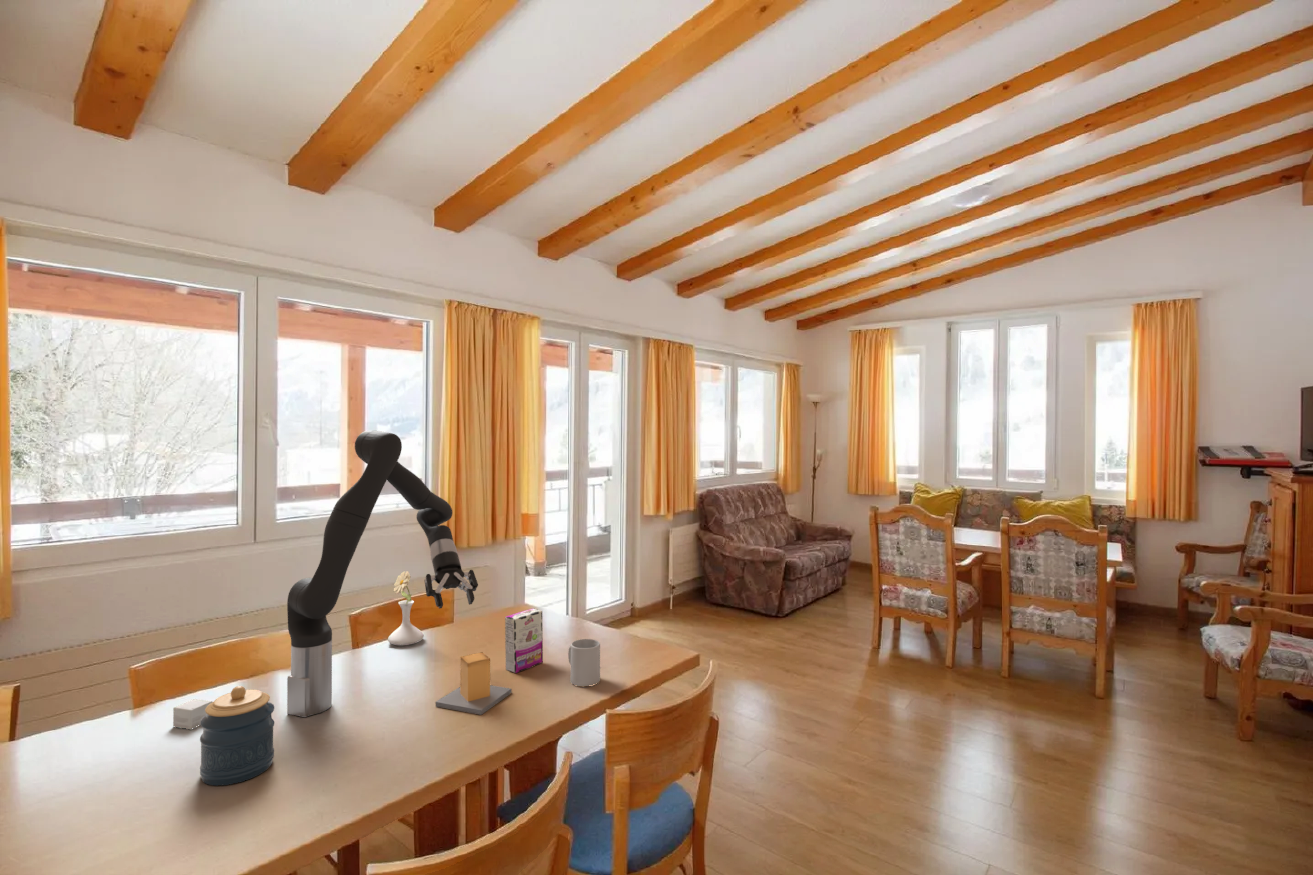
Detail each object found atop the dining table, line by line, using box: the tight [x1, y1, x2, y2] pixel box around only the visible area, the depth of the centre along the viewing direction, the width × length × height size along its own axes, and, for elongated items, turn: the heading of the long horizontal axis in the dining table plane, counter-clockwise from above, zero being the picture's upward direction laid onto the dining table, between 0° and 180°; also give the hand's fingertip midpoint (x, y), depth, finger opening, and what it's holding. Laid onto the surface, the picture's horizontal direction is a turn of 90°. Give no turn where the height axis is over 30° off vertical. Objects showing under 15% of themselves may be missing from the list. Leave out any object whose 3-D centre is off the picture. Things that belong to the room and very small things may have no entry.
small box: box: [172, 698, 213, 730], centre depth 150 cm, size 6×6×5 cm
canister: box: [199, 685, 275, 787], centre depth 130 cm, size 13×13×18 cm
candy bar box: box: [504, 608, 544, 674], centre depth 188 cm, size 11×5×16 cm, turn 143°
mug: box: [567, 638, 601, 687], centre depth 179 cm, size 12×8×11 cm
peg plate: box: [435, 684, 513, 716], centre depth 165 cm, size 14×14×6 cm
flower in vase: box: [387, 570, 425, 646], centre depth 208 cm, size 13×11×25 cm
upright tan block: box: [459, 651, 491, 701], centre depth 165 cm, size 6×6×10 cm
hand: (456, 604), depth 174 cm, fingers open, 8 cm apart
